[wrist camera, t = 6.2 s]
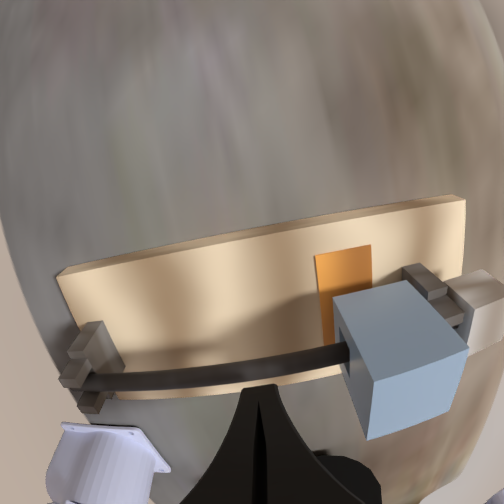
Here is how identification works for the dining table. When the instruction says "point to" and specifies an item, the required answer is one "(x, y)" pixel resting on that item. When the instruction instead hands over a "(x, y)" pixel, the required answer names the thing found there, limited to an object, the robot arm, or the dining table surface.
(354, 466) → the black cylinder
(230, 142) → the dining table surface
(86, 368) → the cord board
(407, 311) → the light blue block
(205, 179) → the dining table surface
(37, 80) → the dining table surface
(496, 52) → the dining table surface
